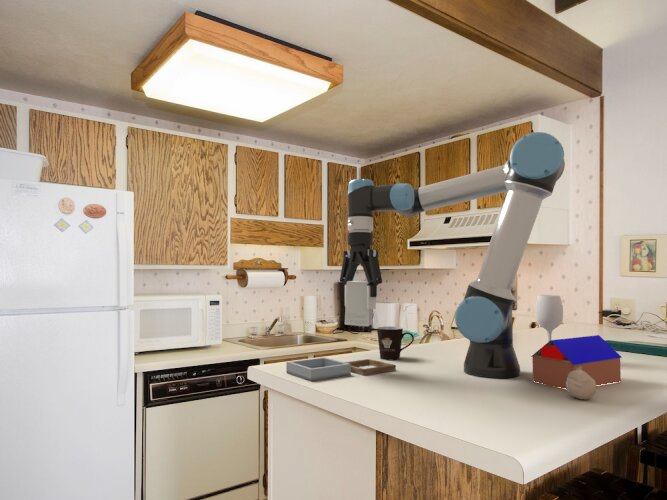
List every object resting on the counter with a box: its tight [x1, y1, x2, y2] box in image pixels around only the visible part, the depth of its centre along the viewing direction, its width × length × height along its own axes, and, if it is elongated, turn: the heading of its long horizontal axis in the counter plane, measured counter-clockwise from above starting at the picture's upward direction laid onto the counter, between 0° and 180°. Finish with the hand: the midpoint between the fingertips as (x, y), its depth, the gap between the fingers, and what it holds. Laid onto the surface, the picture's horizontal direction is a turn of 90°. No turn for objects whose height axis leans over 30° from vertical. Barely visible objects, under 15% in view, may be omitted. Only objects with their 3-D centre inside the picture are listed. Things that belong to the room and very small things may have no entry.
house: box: [530, 334, 623, 389], centre depth 122 cm, size 12×20×12 cm, turn 119°
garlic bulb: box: [565, 365, 597, 400], centre depth 106 cm, size 7×6×8 cm
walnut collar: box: [344, 358, 397, 376], centre depth 138 cm, size 12×12×2 cm
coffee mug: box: [376, 325, 415, 361], centre depth 155 cm, size 12×9×10 cm
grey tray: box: [285, 356, 352, 382], centre depth 132 cm, size 13×13×3 cm
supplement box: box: [344, 280, 374, 327], centre depth 139 cm, size 7×7×13 cm
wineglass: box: [534, 294, 564, 343], centre depth 151 cm, size 9×9×21 cm
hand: (359, 307), depth 138 cm, fingers closed on supplement box, 10 cm apart
